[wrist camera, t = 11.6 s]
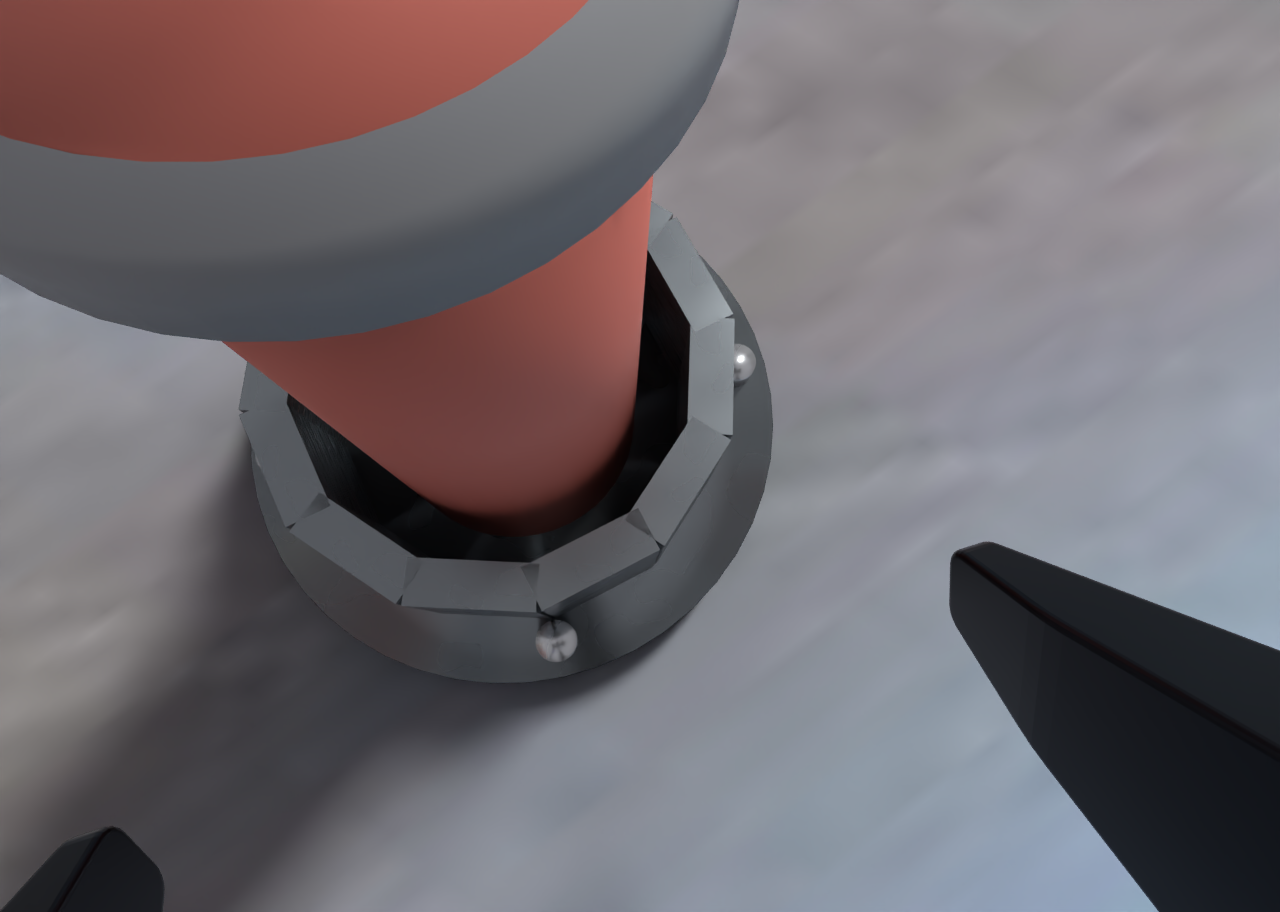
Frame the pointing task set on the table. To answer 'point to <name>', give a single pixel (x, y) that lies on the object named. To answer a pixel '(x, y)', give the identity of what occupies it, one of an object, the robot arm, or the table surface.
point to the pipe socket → (552, 561)
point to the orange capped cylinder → (370, 211)
